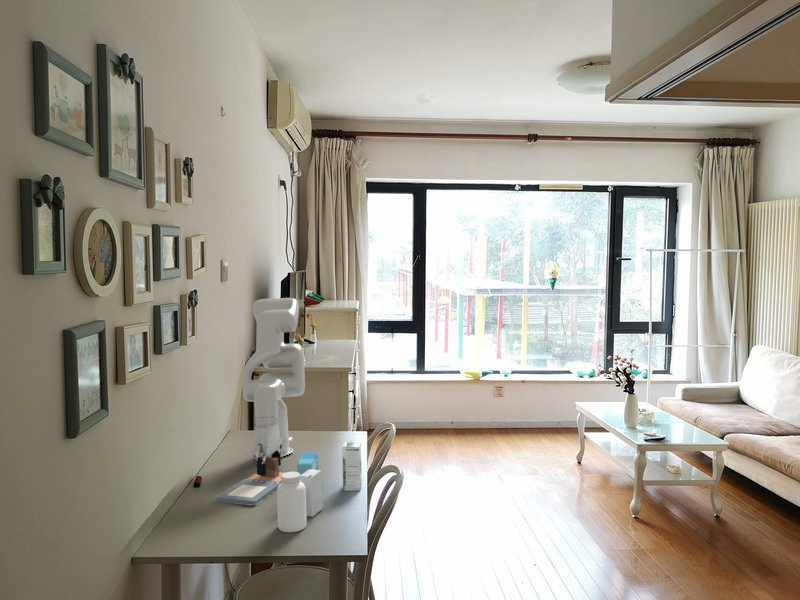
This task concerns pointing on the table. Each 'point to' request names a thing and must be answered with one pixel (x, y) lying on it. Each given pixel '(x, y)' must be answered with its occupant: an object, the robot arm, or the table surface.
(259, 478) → the stub
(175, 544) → the table surface
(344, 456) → the syrup box
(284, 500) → the pill bottle
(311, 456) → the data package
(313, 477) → the skincare box
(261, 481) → the board
